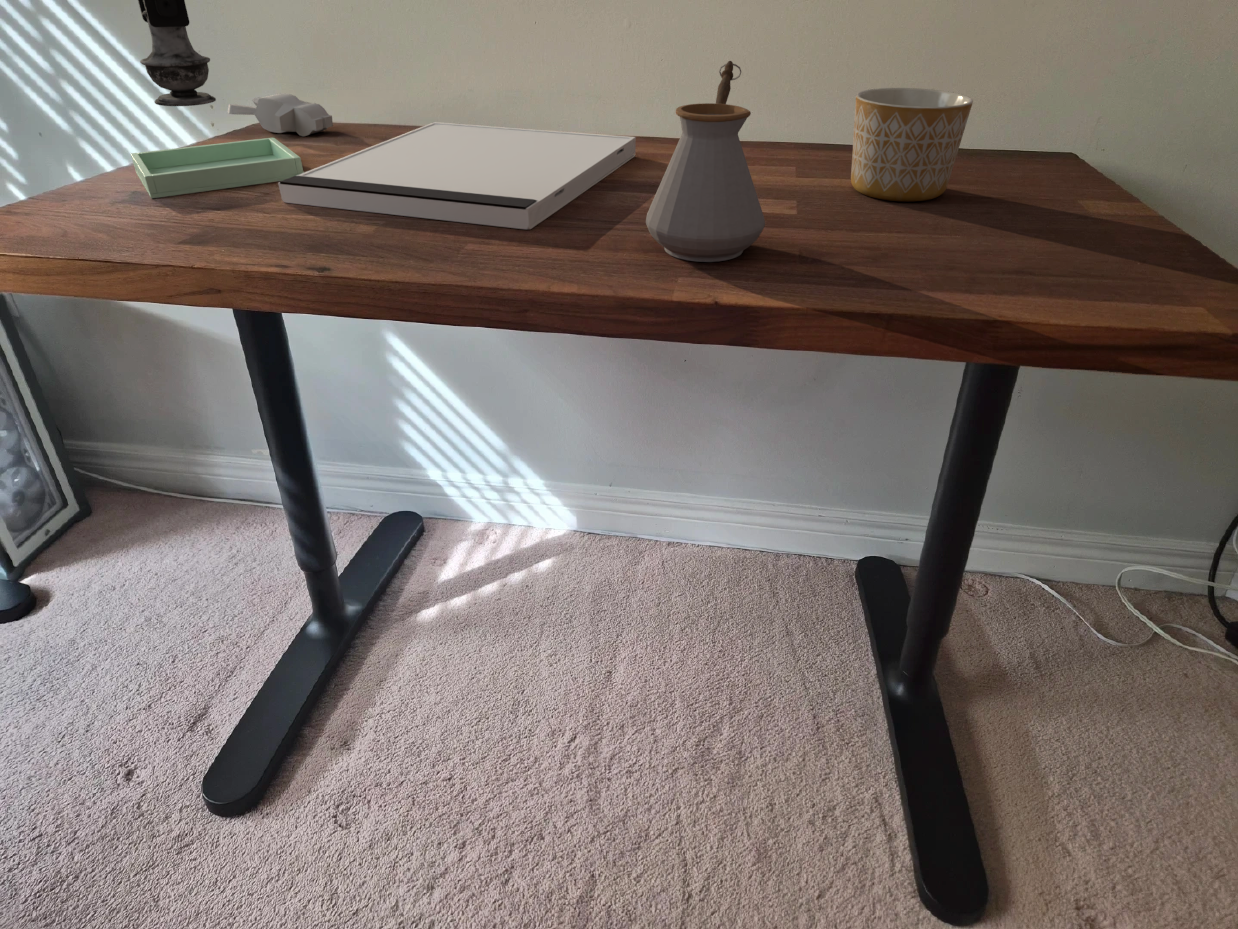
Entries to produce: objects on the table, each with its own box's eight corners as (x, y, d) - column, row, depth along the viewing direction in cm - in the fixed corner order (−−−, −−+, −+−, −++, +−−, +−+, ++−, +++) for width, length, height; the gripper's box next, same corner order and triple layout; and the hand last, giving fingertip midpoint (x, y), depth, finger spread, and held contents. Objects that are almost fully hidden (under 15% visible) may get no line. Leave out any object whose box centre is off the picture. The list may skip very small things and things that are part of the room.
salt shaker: (232, 100, 79) (200, -47, 73) (174, 109, 75) (135, -47, 69) (196, 93, 82) (162, -49, 76) (138, 101, 78) (97, -49, 72)
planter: (964, 186, 101) (985, 93, 95) (935, 212, 92) (955, 111, 86) (863, 172, 107) (877, 84, 101) (826, 194, 98) (839, 99, 92)
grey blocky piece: (301, 111, 120) (217, 92, 123) (305, 148, 122) (223, 128, 126) (342, 100, 127) (262, 82, 131) (345, 135, 130) (266, 116, 133)
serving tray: (151, 198, 96) (144, 176, 95) (136, 173, 106) (130, 153, 105) (304, 177, 104) (300, 157, 103) (278, 156, 114) (273, 137, 113)
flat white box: (527, 206, 85) (277, 180, 94) (529, 230, 87) (282, 202, 95) (635, 136, 113) (434, 121, 121) (635, 155, 114) (436, 139, 123)
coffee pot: (757, 273, 76) (774, 96, 68) (634, 264, 78) (636, 91, 70) (772, 208, 93) (787, 61, 85) (671, 202, 95) (676, 57, 87)
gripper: (41, -232, 69) (110, 17, 79) (53, -261, 58) (131, 35, 68) (141, -222, 73) (195, 15, 83) (171, -248, 61) (229, 31, 71)
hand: (166, 21), depth 75 cm, fingers closed on salt shaker, 3 cm apart
